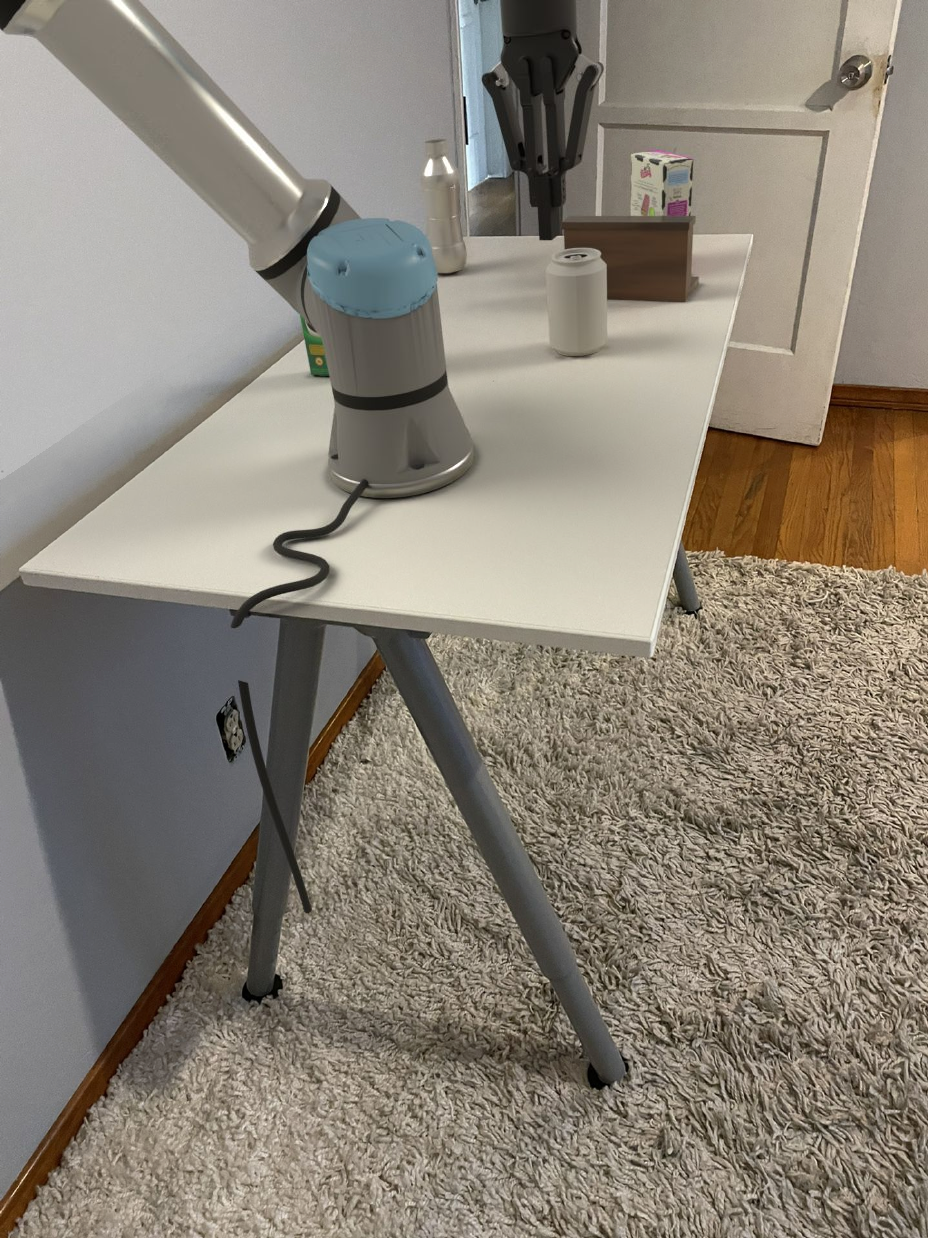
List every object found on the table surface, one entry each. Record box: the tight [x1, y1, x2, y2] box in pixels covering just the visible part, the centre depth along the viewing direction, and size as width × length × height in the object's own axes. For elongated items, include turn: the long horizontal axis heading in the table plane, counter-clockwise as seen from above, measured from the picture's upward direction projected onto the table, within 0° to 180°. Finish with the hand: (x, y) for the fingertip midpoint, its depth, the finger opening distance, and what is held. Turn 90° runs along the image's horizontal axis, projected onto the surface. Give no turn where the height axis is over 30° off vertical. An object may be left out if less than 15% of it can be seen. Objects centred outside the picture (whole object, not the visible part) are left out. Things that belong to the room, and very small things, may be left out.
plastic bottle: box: [418, 138, 468, 274], centre depth 149 cm, size 6×7×20 cm
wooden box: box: [561, 215, 700, 303], centre depth 134 cm, size 8×18×11 cm, turn 65°
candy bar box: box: [629, 149, 694, 216], centre depth 139 cm, size 11×5×16 cm, turn 17°
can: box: [545, 248, 608, 357], centre depth 116 cm, size 8×8×12 cm
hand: (549, 236), depth 104 cm, fingers closed
